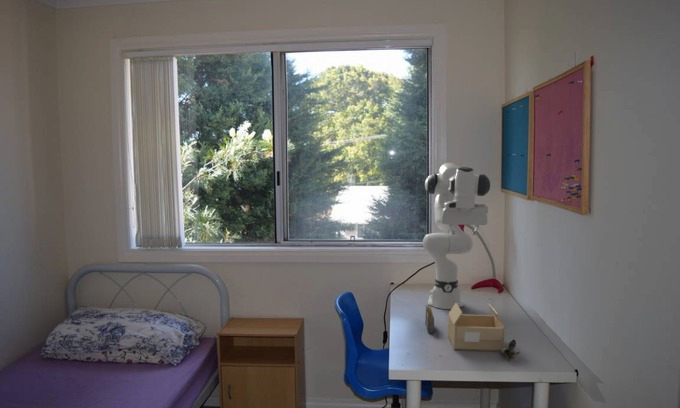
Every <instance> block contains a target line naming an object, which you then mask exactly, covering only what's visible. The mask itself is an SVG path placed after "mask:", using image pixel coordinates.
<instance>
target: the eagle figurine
mask: <svg viewBox="0 0 680 408" xmlns="http://www.w3.org/2000/svg"><path fill="white" fill-rule="evenodd" d="M516 347H517V341H516V340H515V339H512V340H511V341H510V342H509V343H508V347H504V348H503V350H502V351H501V352H500V354H504V353H505V354H506V357H508V362H510V361H511V360H512V359H513V358H514V359H516V355H518V354H519V353H520V351H518V352H515V350H514V349H515V348H516Z"/></svg>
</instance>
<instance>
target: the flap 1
mask: <svg viewBox="0 0 680 408" xmlns="http://www.w3.org/2000/svg"><path fill="white" fill-rule="evenodd" d="M462 314H463V311H462V310H461V307H459V306H458V304H457V303H455V305H454V306H453V308H452V309H450V310H449V312H448V316H450V318H451V320H452V322H453V324H454V325H455V324H456V323H457V321H458V319H459V318H460V316H461V315H462Z"/></svg>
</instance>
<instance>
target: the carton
mask: <svg viewBox="0 0 680 408" xmlns="http://www.w3.org/2000/svg"><path fill="white" fill-rule="evenodd" d="M447 316H448V317H447V319H448V321H447V322H448V323H447V325H448V326H447V337H448V340H449V342H450V344H451V346H452V347H451V348H452V349H453V350H454V351H471V352H472V351H473V352H500V351H502V350H503V349H505V347H504V344H505V326H503V325H502V324H501V323H500V322H499V320H498V319H497V318H496V317H495V315H494V314H493V315H491V314H465V313H464V314H463V313H462V315H461V316H460V318H459V319H458V321H457V323H456V324H455V325H454V324H453V322H452V320H451V318H450V316H449V315H447Z"/></svg>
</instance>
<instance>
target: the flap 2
mask: <svg viewBox="0 0 680 408" xmlns="http://www.w3.org/2000/svg"><path fill="white" fill-rule="evenodd" d="M488 306H489V308H490V309H491V311H492V313H493V316H495V317H496V318H497V319H498V320H499V322H500V323H501V324H502V325H503V327H505V324H504V323H503V321H502V319H501V317H500V316H499V314H498V312H497V311H496V310H495V308H494V307H493V306H492V305H491V304H490V303H488Z"/></svg>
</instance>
